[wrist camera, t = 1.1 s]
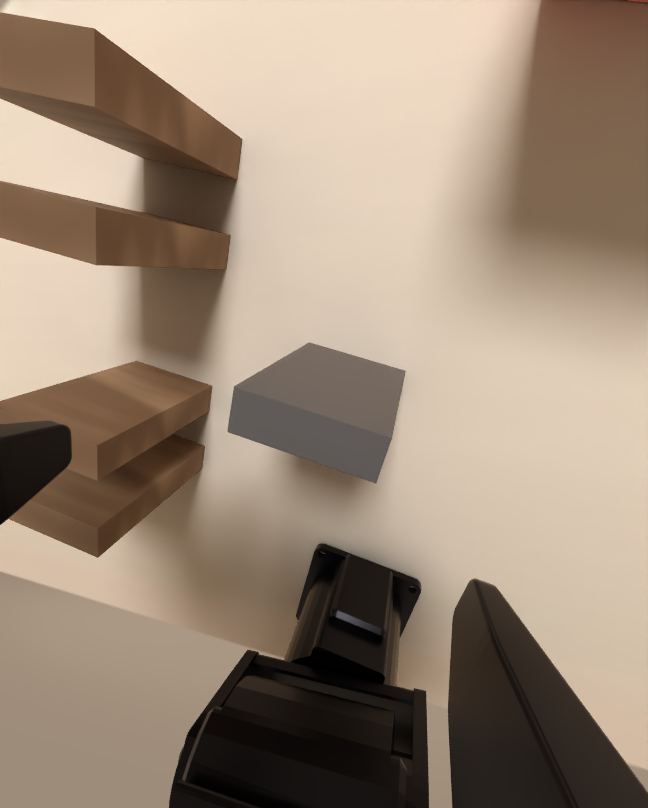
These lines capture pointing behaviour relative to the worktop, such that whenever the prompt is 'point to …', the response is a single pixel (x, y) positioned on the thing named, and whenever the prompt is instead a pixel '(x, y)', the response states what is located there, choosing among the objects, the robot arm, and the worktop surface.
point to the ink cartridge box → (639, 0)
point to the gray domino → (322, 409)
